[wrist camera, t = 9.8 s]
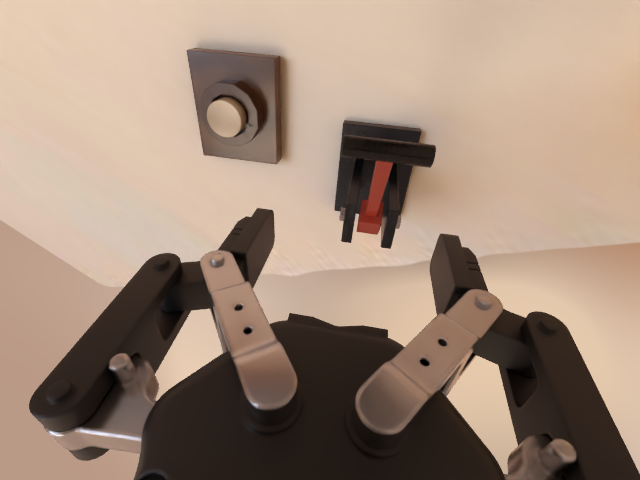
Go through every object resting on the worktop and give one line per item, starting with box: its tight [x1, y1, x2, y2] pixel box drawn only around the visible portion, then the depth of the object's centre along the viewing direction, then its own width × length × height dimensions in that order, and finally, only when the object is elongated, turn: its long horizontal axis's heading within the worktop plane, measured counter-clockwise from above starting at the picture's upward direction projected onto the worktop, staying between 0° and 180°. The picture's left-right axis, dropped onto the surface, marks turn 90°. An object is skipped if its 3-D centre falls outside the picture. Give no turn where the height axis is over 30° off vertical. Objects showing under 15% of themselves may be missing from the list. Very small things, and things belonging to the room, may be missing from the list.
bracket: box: [335, 121, 421, 249], centre depth 36 cm, size 12×9×13 cm
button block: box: [187, 48, 281, 164], centre depth 38 cm, size 12×10×4 cm
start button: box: [207, 97, 247, 137], centre depth 36 cm, size 4×4×2 cm
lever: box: [341, 135, 436, 235], centre depth 27 cm, size 14×6×2 cm
